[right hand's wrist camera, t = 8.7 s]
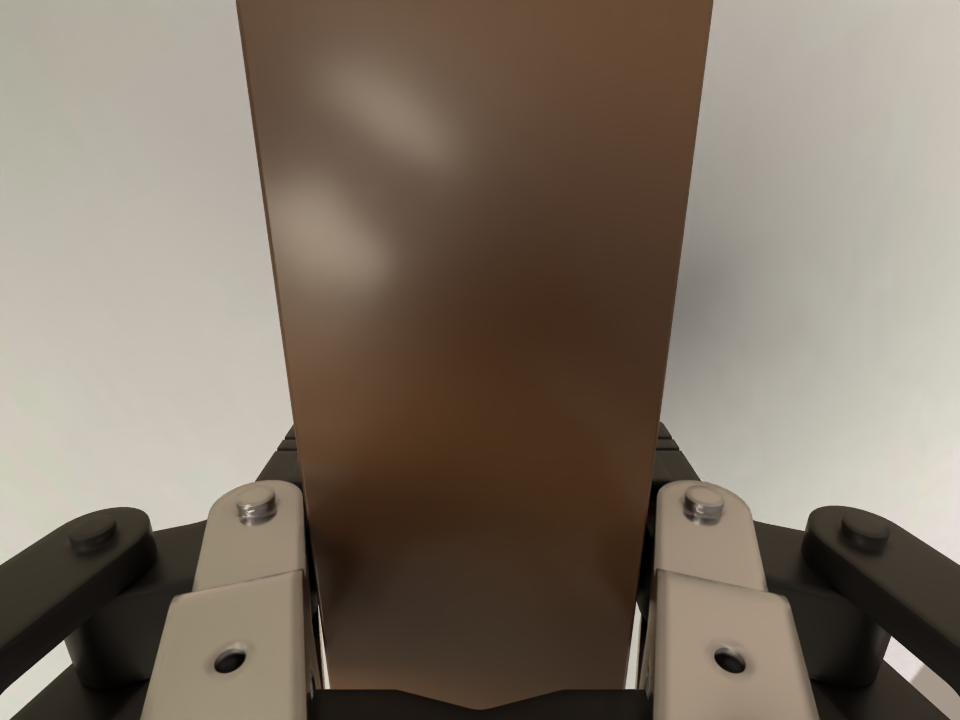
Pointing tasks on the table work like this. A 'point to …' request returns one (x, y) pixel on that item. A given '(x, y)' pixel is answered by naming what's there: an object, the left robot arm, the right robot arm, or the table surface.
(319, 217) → the bar
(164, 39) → the table surface
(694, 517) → the right robot arm
